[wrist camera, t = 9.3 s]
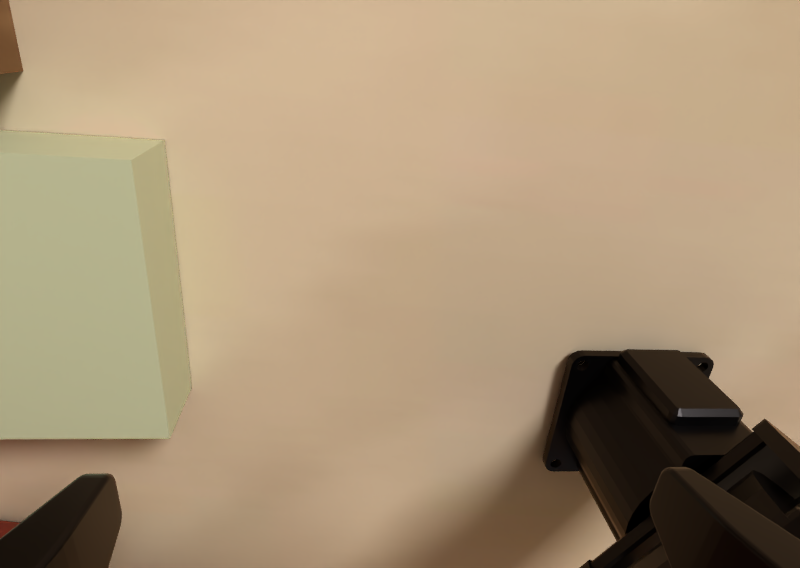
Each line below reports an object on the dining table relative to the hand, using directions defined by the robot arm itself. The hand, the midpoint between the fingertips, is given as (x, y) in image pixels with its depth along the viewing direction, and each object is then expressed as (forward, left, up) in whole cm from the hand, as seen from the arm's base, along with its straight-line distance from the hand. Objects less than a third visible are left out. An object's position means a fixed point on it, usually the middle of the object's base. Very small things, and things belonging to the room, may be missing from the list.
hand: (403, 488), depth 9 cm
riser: (-2, +13, -12) cm, 18 cm away
